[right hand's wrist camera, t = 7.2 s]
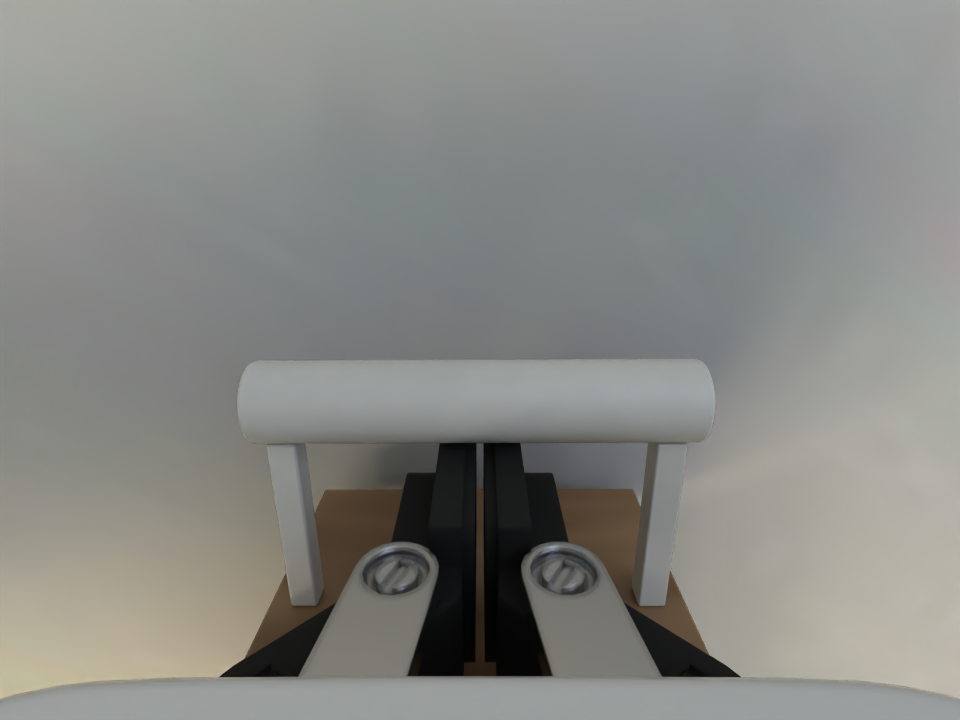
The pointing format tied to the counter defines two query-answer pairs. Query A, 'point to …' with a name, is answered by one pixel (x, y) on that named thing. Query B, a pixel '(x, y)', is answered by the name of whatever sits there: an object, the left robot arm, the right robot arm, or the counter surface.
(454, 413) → the drawer
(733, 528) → the counter surface
